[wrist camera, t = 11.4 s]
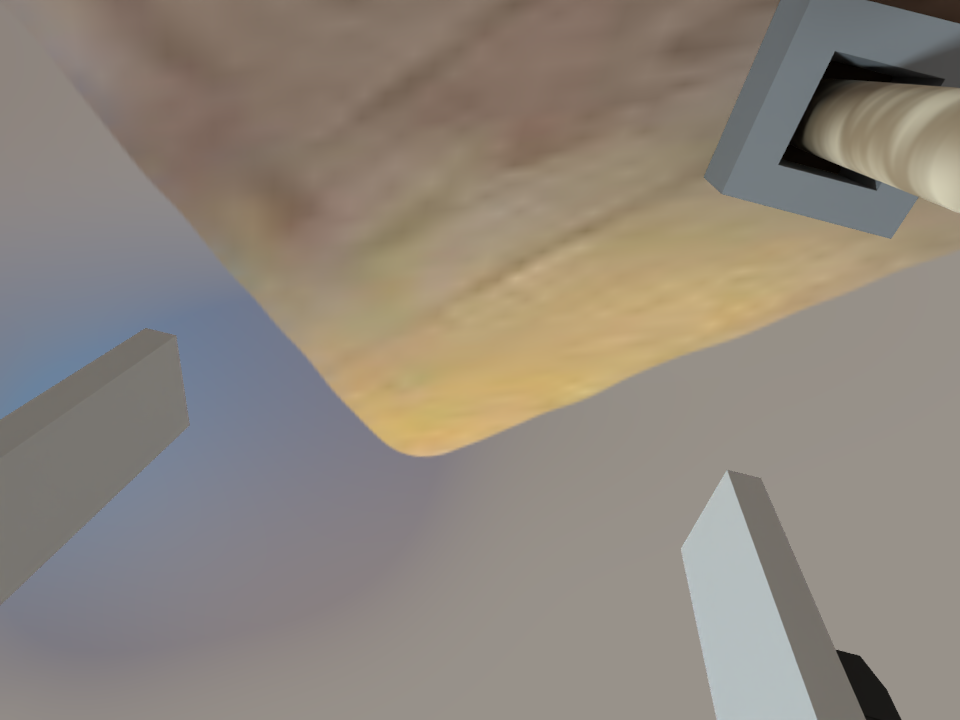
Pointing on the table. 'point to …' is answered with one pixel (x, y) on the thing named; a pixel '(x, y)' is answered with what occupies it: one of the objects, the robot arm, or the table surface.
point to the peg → (888, 134)
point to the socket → (789, 88)
